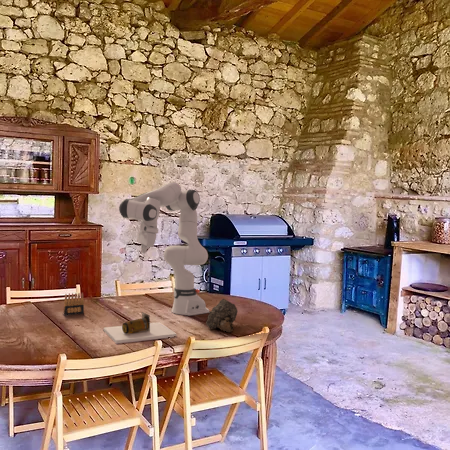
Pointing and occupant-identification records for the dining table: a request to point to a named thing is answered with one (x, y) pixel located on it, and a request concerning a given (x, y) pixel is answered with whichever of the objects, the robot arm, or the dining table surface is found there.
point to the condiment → (137, 324)
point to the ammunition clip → (73, 305)
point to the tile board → (139, 333)
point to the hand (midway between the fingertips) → (143, 253)
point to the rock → (222, 316)
